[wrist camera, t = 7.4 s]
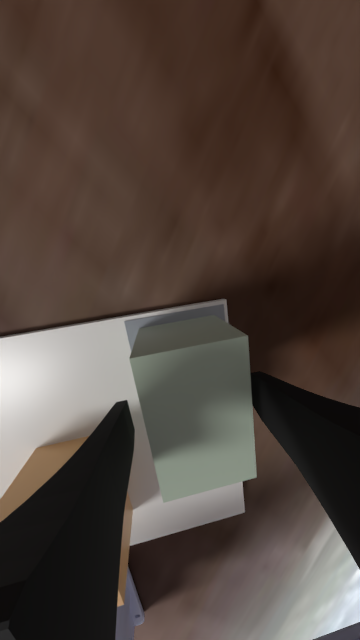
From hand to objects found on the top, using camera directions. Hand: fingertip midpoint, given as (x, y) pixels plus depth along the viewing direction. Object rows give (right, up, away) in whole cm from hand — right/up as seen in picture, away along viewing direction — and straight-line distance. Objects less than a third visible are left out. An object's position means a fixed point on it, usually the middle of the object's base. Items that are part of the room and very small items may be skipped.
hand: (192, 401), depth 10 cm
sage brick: (0, +1, +2) cm, 3 cm away
